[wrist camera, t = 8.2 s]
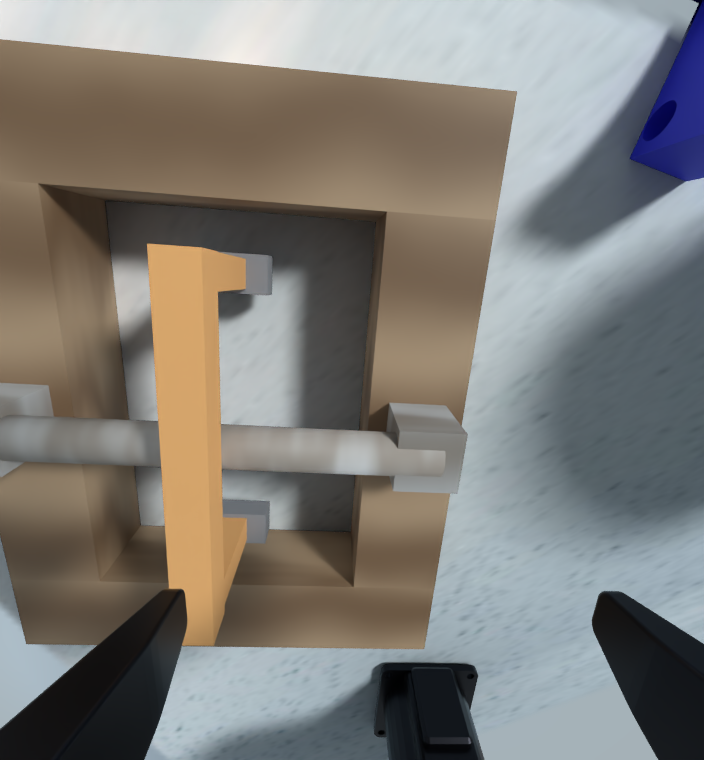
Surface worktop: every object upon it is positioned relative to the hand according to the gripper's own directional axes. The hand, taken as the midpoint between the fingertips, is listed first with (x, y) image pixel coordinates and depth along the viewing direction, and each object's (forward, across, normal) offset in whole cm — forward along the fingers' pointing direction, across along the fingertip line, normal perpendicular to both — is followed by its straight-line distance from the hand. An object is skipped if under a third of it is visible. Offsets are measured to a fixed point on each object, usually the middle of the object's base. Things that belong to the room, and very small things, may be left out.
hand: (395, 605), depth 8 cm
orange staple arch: (+11, +6, 0) cm, 13 cm away
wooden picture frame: (+12, +6, -1) cm, 14 cm away
